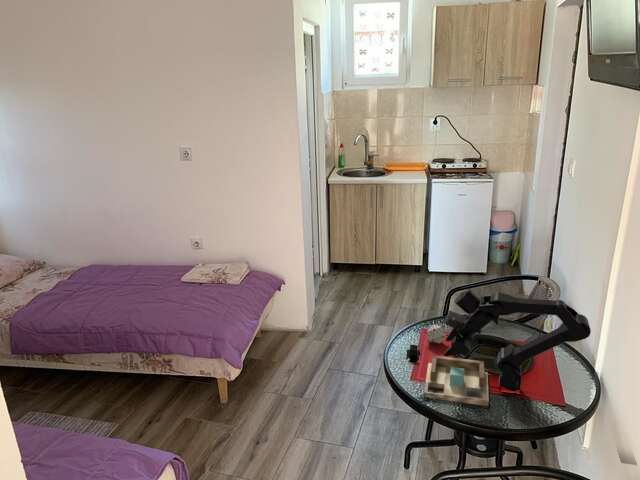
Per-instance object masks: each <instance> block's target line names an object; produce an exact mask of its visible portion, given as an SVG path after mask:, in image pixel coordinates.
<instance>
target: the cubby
mask: <svg viewBox="0 0 640 480" xmlns="http://www.w3.org/2000/svg"><path fill="white" fill-rule="evenodd" d="M431 359H432V360H431V363H432V365H431V375H430V380H435V374H436V366H439V367H447V368H451V367H454V368H462V369H464V370H472V371H479V386H481V387H484V370H485V363H484V362H485V361H484V360H475V359H467V358H458V357H452V356H444V355H443V356H441V355H432V358H431Z"/></svg>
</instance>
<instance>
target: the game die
mask: <svg viewBox="0 0 640 480" xmlns="http://www.w3.org/2000/svg"><path fill="white" fill-rule="evenodd" d="M444 327H445V325H444V324H443V325H438V324H435V323H433V322H431V325H430V327H429V328H428V329H427V330H426V331H424V334H426V335H427V338H428V342H429V343H431V342H432V343H435V344H439V346H440V345H441V346H442V344H441V343H442V342H443V341H444V340H445V339H446V338H447V336H448V335H449V334H446V331H445V328H444ZM428 342H427V343H428Z"/></svg>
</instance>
